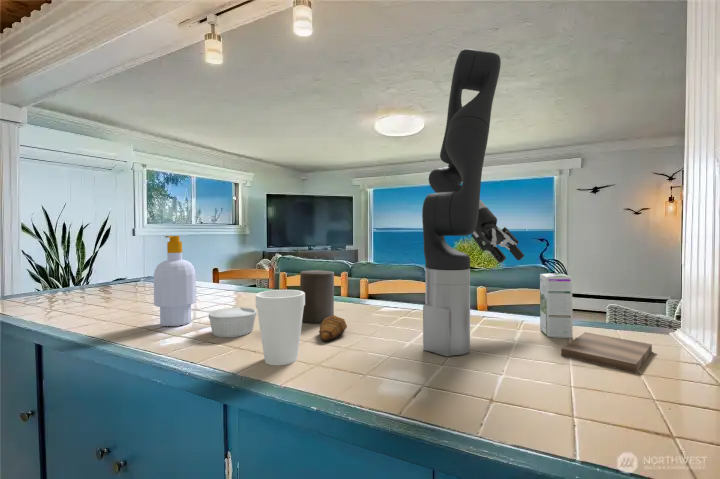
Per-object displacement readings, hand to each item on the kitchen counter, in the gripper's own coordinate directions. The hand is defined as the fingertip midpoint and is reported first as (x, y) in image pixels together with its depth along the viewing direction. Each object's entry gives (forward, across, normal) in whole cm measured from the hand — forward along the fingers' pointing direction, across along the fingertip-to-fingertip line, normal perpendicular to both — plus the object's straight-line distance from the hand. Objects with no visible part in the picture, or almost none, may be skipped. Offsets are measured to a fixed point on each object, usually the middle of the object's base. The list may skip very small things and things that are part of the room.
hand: (512, 259), depth 93 cm
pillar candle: (-13, -39, +38) cm, 56 cm away
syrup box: (+20, +1, +4) cm, 21 cm away
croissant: (-2, -43, +27) cm, 51 cm away
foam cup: (+3, -60, +20) cm, 63 cm away
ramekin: (-14, -62, +39) cm, 74 cm away
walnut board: (+29, -5, -5) cm, 29 cm away
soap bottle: (-26, -72, +52) cm, 93 cm away
